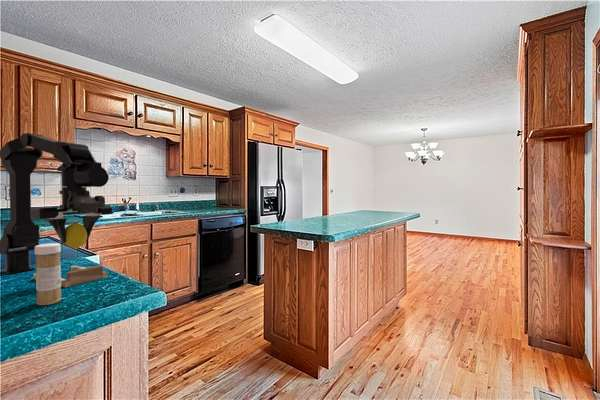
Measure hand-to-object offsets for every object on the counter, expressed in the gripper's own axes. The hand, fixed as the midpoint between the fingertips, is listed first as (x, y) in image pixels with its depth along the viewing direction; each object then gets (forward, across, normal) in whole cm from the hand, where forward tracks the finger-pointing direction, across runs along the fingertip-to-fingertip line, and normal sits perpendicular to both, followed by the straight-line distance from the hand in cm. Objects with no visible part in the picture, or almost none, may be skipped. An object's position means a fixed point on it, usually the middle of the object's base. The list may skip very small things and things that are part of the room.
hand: (75, 240), depth 87 cm
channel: (+11, 0, +3) cm, 12 cm away
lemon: (+3, 0, 0) cm, 3 cm away
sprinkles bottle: (+11, -13, -15) cm, 23 cm away
